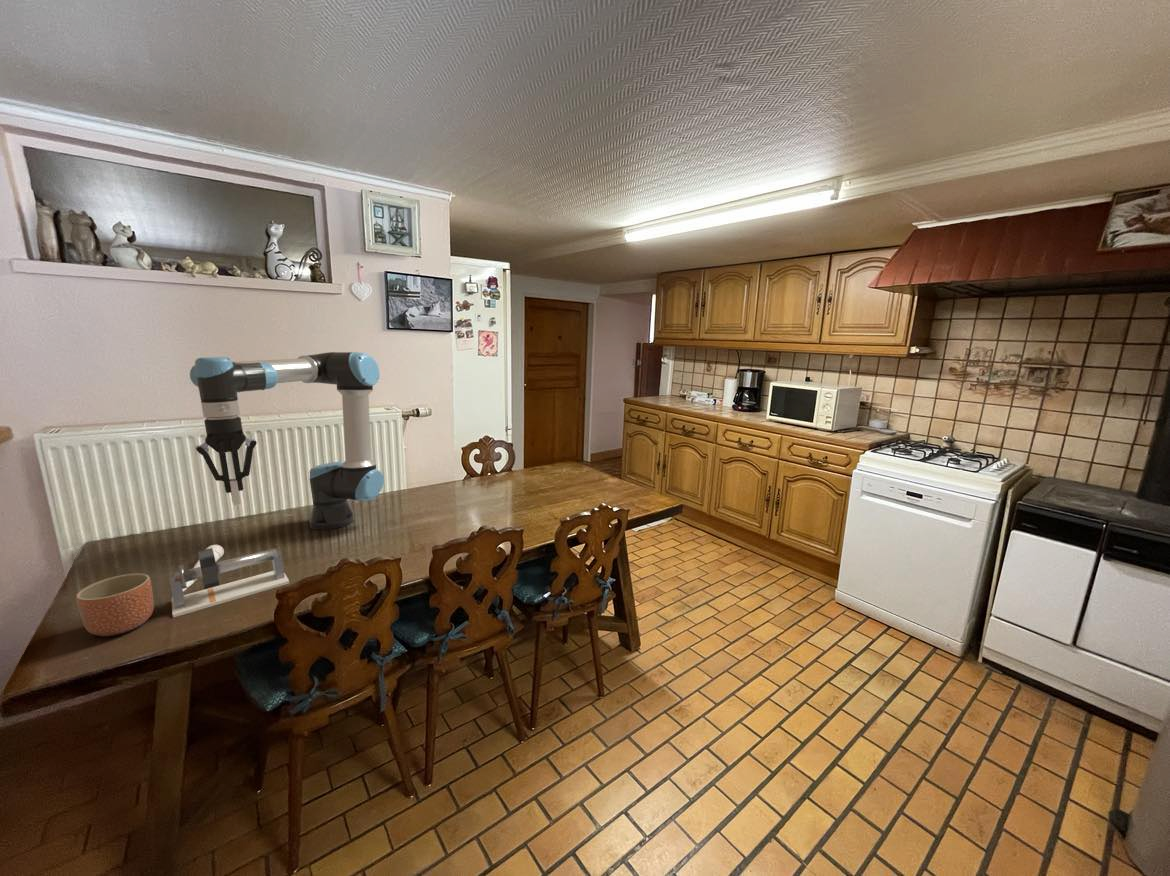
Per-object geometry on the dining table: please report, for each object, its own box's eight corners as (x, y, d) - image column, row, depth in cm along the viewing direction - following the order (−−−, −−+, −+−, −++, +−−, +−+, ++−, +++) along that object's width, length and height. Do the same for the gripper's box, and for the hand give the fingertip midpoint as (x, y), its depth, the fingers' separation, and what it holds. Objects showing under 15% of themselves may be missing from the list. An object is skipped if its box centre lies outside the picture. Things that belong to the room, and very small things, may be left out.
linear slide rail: (174, 603, 120) (167, 565, 118) (281, 573, 136) (277, 539, 134) (175, 613, 116) (167, 573, 114) (285, 581, 132) (281, 545, 130)
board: (172, 601, 121) (171, 598, 121) (282, 570, 138) (282, 568, 138) (173, 617, 114) (172, 614, 114) (289, 583, 131) (289, 580, 131)
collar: (202, 579, 124) (197, 551, 122) (216, 575, 126) (212, 548, 124) (204, 589, 119) (199, 560, 117) (219, 585, 121) (214, 556, 119)
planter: (73, 636, 107) (63, 593, 105) (139, 608, 118) (131, 569, 116) (103, 648, 102) (93, 604, 100) (169, 618, 114) (161, 578, 112)
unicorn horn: (163, 597, 124) (160, 580, 123) (208, 558, 146) (206, 544, 145) (184, 594, 125) (181, 578, 124) (225, 556, 148) (223, 542, 147)
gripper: (190, 422, 112) (206, 512, 117) (255, 416, 120) (267, 500, 125) (188, 418, 117) (204, 504, 122) (250, 413, 126) (263, 494, 131)
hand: (236, 502), depth 124 cm, fingers closed
